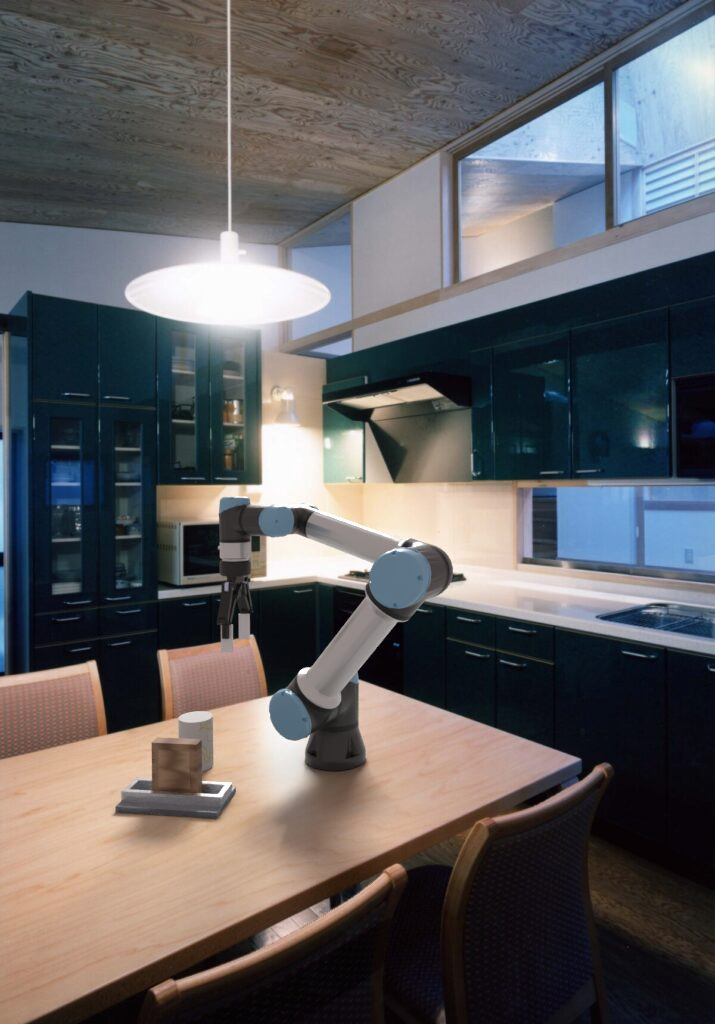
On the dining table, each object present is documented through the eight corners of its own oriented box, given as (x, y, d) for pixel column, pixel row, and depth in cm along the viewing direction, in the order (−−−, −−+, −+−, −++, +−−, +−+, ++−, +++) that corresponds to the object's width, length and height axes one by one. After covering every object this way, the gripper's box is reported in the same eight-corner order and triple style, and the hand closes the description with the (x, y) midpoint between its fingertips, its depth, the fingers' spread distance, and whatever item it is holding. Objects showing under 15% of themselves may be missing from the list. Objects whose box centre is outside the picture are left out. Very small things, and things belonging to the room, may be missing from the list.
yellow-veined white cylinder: (204, 773, 154) (204, 723, 154) (173, 771, 156) (172, 721, 155) (218, 760, 162) (218, 712, 162) (188, 757, 164) (187, 710, 163)
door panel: (202, 794, 141) (201, 739, 141) (197, 800, 138) (196, 744, 138) (158, 791, 142) (157, 737, 142) (152, 798, 139) (151, 742, 139)
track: (235, 791, 145) (235, 777, 145) (217, 818, 133) (217, 803, 133) (141, 786, 147) (141, 772, 147) (115, 812, 136) (115, 797, 136)
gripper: (236, 554, 173) (237, 634, 174) (202, 564, 148) (203, 657, 149) (263, 554, 172) (264, 634, 173) (233, 565, 147) (234, 658, 148)
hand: (236, 645), depth 161 cm, fingers open, 13 cm apart
